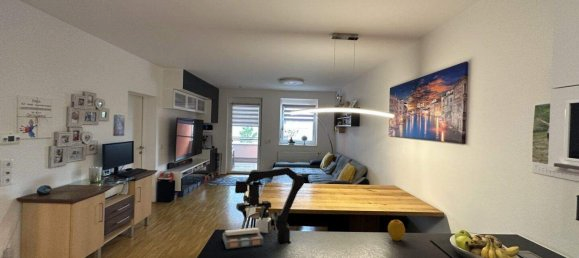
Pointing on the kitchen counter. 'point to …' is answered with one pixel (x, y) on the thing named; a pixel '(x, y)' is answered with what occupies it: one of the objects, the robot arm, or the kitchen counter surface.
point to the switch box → (242, 240)
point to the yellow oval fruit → (396, 230)
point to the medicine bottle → (264, 223)
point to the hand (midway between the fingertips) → (253, 220)
